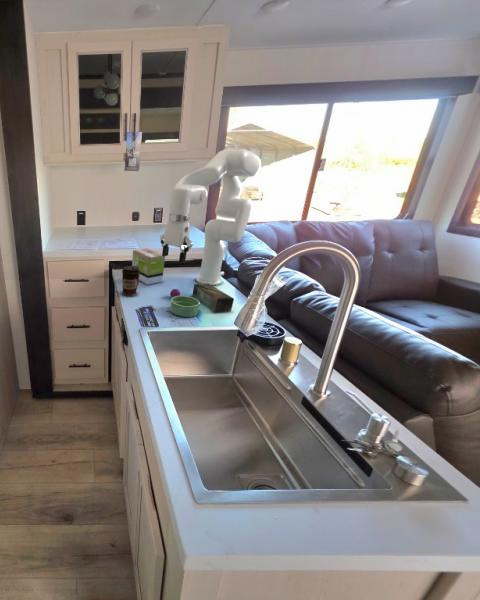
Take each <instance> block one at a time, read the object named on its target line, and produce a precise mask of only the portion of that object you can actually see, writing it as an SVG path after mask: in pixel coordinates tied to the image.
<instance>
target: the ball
mask: <svg viewBox="0 0 480 600" xmlns="http://www.w3.org/2000/svg"><path fill="white" fill-rule="evenodd" d="M169 295H170V297H171V298H173V297H175V296H181V291H180V289H178V288H174V289H171V291H170V293H169Z"/></svg>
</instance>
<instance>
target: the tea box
mask: <svg viewBox="0 0 480 600" xmlns="http://www.w3.org/2000/svg"><path fill="white" fill-rule="evenodd" d="M131 259H132V260H131V261H132V262H131V263H132V264H131V266H136V267H139V270H140V274H139V281H140V282H142V283H144V284H145V285H147V286H148V285H153V284H158V283H163V280H164V279H163V278H164V270H165V260H166V256H162V252H161V253H160V252H158V251H156V250H153V249H151V248H148V247H147V248H140V249H133V250H132V258H131Z"/></svg>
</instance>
